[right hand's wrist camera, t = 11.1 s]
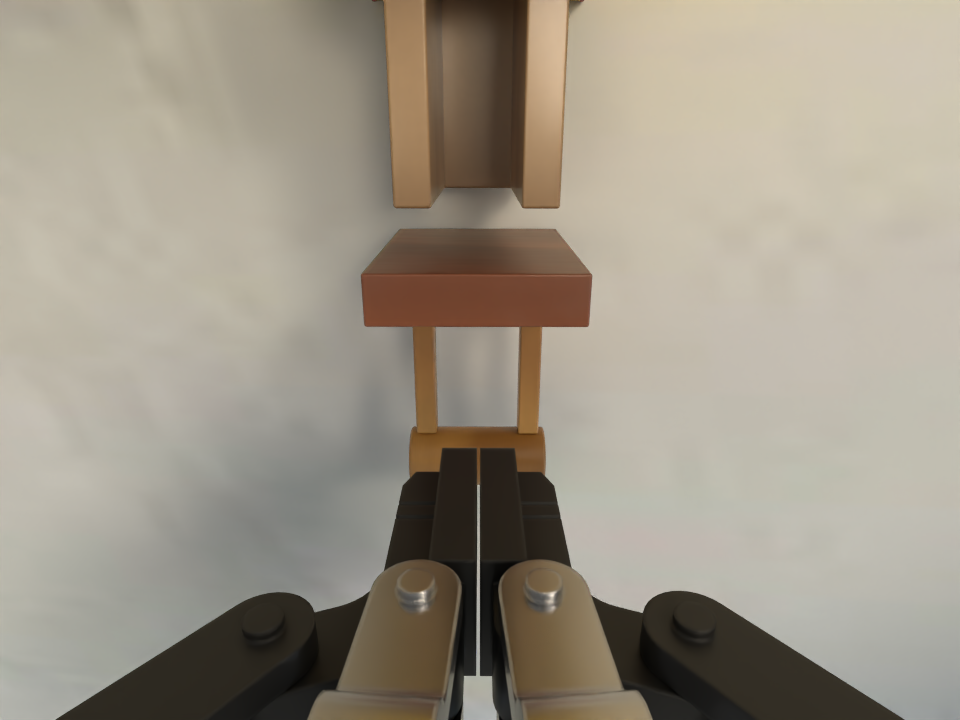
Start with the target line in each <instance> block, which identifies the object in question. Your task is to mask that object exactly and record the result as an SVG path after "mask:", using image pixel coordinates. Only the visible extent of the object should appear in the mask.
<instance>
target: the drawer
mask: <svg viewBox="0 0 960 720" xmlns="http://www.w3.org/2000/svg"><path fill="white" fill-rule="evenodd" d="M383 2H384V22H385V43H386V63H387V84H388V105H389V125H390V146H391V167H392V187H393V205H394V207H395V208H430V207H431V206H432V205H433V203H434V202H435V200H436V199H437V197H438V196H439V195H440V193H441V192H442V190H443V189H444V188H511V189H512V191H513V192H514V194H515V196H516V197H517V199H518V201H519V203H520V204H521V206H522V208H559V206H560V191H561V169H562V148H563V126H564V105H565V83H566V62H567V41H568V19H569V0H383ZM361 284H362V299H363V313H364V325H365V326H366V327H413V348H414V373H415V398H416V423H417V427H413V428H412V431H411V435H410V445H409V473H410V478H411V477H412V476H413V474H414V473H415V472H439V469H440V461H441V453H442V448H477V485H480V448H515V454H516V463H517V472H541V473H542V474H543V475H544V476H545V467H546V452H545V437H544V431H543V428H542V427H538V419H539V393H540V368H541V342H542V327H588V326H589V316H590V302H591V287H592V274H591V273H590V272H589V270H588V269H587V268H586V267H585V265H584V264H583V263H582V262H581V260H580V259H579V258H578V257H577V255H576V254H575V253H574V252H573V250H572V249H571V248H570V247H569V245H568V244H567V243H566V242H565V240H564V239H563V238H562V237H561V235H560V234H559V233H558V232H557V230H556V229H400V230H399V231H398V232H397V233H396V234H395V236H394V237H393V238H392V239H391V240H390V241H389V243H388V244H387V245H386V246H385V247H384V248H383V250H382V251H381V252H380V253H379V254H378V255H377V257H376V258H375V259H374V260H373V261H372V262H371V263H370V265H369V266H368V267H367V268H366V269H365V270H364V272H363V273H362V274H361ZM435 327H519V360H518V399H517V427H438V404H437V366H436V328H435Z"/></svg>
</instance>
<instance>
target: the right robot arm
mask: <svg viewBox="0 0 960 720" xmlns="http://www.w3.org/2000/svg"><path fill="white" fill-rule="evenodd" d="M476 617H477V448H442V453H441V461H440V469H439V472H415V473H414V474H413V476H412V477H411V478H410V479H409V480H408V481H407V482H406V483H405V484H404V485H403V487H402V492H401V496H400V501H399V505H398V510H397V514H396V519H395V523H394V528H393V532H392V537H391V541H390V546H389V550H388V555H387V559H386V564H385V568H384V572H382V573H381V574H380V575H379V576H378V577H377V579H376V580H375V581H374V583H373V585H372V587H371V590H370V591H369V592H368V593H367V594H365V595H364V596H363V597H361V598H359V599H357V600H355V601H353V602H351V603H348V604H346V605H342V606H339V607H335V608H331V609H327V610H323V611H319V612H315V613H314V610H313V608H312V606H311V605H310V603H309V602H308V601H306V600H305V599H304V598H302V597H300V596H298V595H295V594H291V593H283V592H276V593H267V594H262V595H259V596H256V597H253V598H250V599H248V600H246V601H244V602H242V603H240V604H238V605H236V606H235V607H233V608H232V609H230V610H229V611H227V612H225V613H224V614H222V615H221V616H219V617H217V618H216V619H214V620H213V621H211V622H210V623H208V624H206V625H205V626H203V627H202V628H200V629H198V630H197V631H195V632H194V633H192V634H190V635H189V636H187V637H186V638H184V639H183V640H181V641H179V642H178V643H176V644H175V645H173V646H171V647H170V648H168V649H167V650H165V651H164V652H162V653H160V654H159V655H157V656H156V657H154V658H152V659H151V660H149V661H148V662H146V663H145V664H143V665H141V666H140V667H138V668H137V669H135V670H133V671H132V672H130V673H129V674H127V675H125V676H124V677H122V678H121V679H119V680H118V681H116V682H114V683H113V684H111V685H110V686H108V687H106V688H105V689H103V690H102V691H100V692H99V693H97V694H95V695H94V696H92V697H91V698H89V699H87V700H86V701H84V702H83V703H81V704H80V705H78V706H76V707H75V708H73V709H72V710H70V711H68V712H67V713H65V714H64V715H62V716H60V717H59V718H57V719H56V720H463V684H464V676H476ZM480 676H492V687H493V703H494V706H495V709H496V711H497V720H904V719H903V718H901V717H899V716H898V715H896V714H895V713H893V712H892V711H890V710H888V709H887V708H885V707H884V706H882V705H880V704H879V703H877V702H876V701H874V700H873V699H871V698H869V697H868V696H866V695H865V694H863V693H861V692H860V691H858V690H857V689H855V688H854V687H852V686H850V685H849V684H847V683H846V682H844V681H842V680H841V679H839V678H838V677H836V676H834V675H833V674H831V673H830V672H828V671H827V670H825V669H823V668H822V667H820V666H819V665H817V664H815V663H814V662H812V661H811V660H809V659H808V658H806V657H804V656H803V655H801V654H800V653H798V652H796V651H795V650H793V649H792V648H790V647H789V646H787V645H785V644H784V643H782V642H781V641H779V640H777V639H776V638H774V637H773V636H771V635H769V634H768V633H766V632H765V631H763V630H762V629H760V628H758V627H757V626H755V625H754V624H752V623H750V622H749V621H747V620H746V619H744V618H743V617H741V616H739V615H738V614H736V613H735V612H733V611H731V610H730V609H728V608H727V607H725V606H724V605H722V604H720V603H719V602H717V601H715V600H713V599H711V598H709V597H706V596H704V595H700V594H697V593H693V592H687V591H670V592H665V593H662V594H659V595H657V596H655V597H653V598H652V599H651V600H650V601H649V602H648V603H647V605H646V606H645V608H644V611H643V613H640V612H636V611H632V610H628V609H624V608H620V607H616V606H613V605H609V604H607V603H605V602H602V601H600V600H598V599H596V598H595V597H593V596H592V595H591V593H590V590H589V587H588V585H587V583H586V581H585V580H584V579H583V577H582V576H581V575H580V574H579V573H578V572H576V571H575V570H574V569H572V568H571V564H570V559H569V554H568V549H567V545H566V540H565V535H564V531H563V526H562V521H561V519H560V512H559V507H558V504H557V497H556V493H555V488H554V485H553V484H552V483H551V482H550V481H549V480H548V479H547V478H546V477H545V476H544V475H543V474H542V473H541V472H517V463H516V454H515V448H480Z"/></svg>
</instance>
